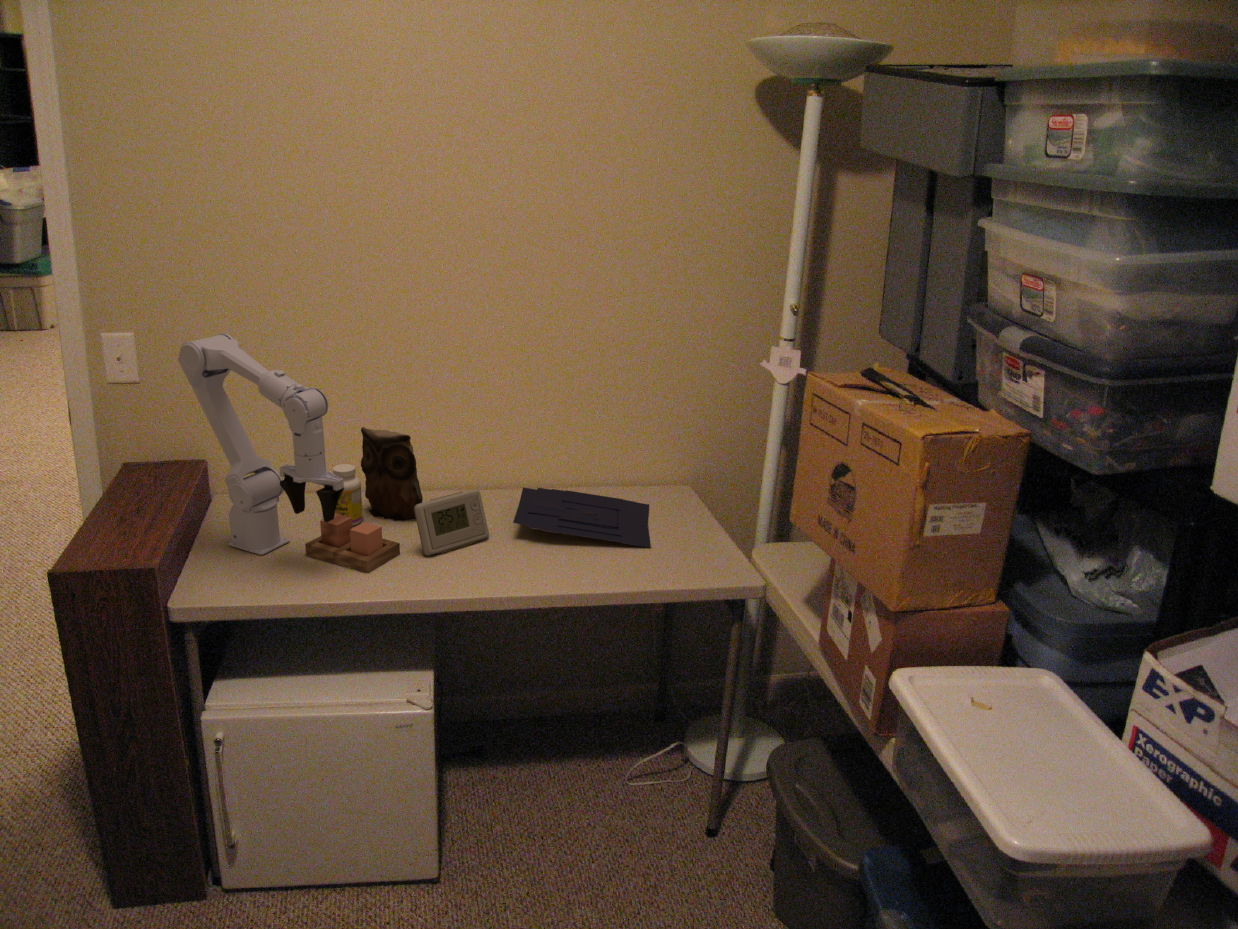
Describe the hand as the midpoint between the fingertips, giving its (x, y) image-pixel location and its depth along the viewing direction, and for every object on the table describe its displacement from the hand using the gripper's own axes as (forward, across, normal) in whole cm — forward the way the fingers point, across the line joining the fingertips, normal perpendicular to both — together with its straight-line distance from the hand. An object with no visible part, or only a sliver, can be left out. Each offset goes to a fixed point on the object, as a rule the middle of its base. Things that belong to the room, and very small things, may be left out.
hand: (314, 516), depth 190 cm
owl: (+10, -2, +29) cm, 31 cm away
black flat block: (+10, +37, +45) cm, 59 cm away
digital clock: (+10, +18, +20) cm, 29 cm away
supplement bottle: (+10, -8, +18) cm, 22 cm away
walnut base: (+10, +4, +6) cm, 12 cm away
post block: (+9, +8, +6) cm, 13 cm away
